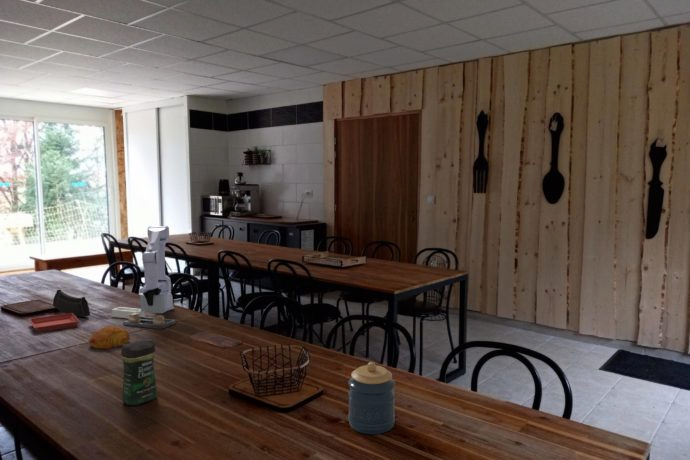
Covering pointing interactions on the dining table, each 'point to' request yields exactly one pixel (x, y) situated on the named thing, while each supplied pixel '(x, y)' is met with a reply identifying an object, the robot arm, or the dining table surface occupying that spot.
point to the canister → (371, 399)
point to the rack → (149, 323)
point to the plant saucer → (54, 322)
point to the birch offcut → (158, 319)
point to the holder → (126, 312)
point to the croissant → (109, 337)
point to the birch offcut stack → (134, 317)
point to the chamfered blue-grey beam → (157, 304)
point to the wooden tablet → (216, 339)
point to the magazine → (71, 304)
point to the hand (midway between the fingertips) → (152, 304)
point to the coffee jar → (138, 372)
